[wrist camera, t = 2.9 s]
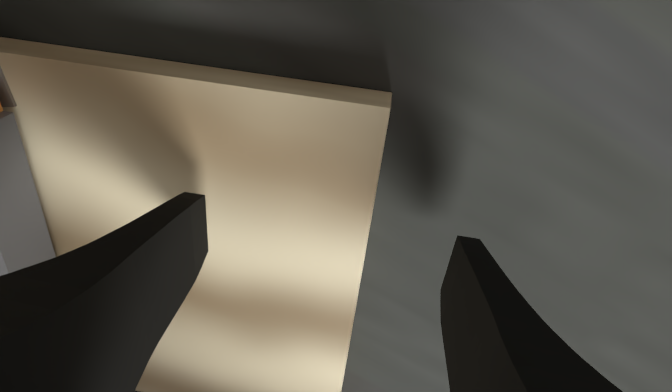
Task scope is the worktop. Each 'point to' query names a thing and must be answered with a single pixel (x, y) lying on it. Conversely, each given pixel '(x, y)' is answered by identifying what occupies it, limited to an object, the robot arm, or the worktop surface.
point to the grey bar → (19, 205)
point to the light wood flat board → (213, 199)
